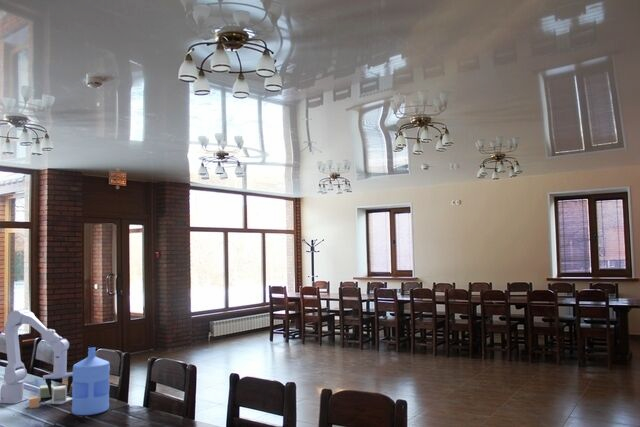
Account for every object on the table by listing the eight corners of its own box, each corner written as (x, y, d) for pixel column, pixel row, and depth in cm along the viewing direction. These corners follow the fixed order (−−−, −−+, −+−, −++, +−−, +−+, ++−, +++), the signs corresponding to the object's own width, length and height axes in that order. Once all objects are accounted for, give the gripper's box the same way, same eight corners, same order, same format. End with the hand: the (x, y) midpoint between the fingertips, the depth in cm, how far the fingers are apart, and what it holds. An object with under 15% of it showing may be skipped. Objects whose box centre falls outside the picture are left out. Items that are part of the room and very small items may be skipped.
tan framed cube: (51, 399, 256) (52, 386, 256) (65, 397, 259) (65, 385, 259) (52, 402, 251) (52, 389, 251) (66, 400, 254) (66, 387, 254)
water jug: (72, 408, 242) (73, 346, 244) (108, 404, 248) (109, 344, 251) (70, 417, 228) (72, 352, 230) (109, 413, 234) (110, 349, 236)
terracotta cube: (29, 406, 247) (29, 397, 247) (38, 405, 249) (39, 396, 249) (29, 408, 244) (29, 399, 244) (38, 407, 245) (39, 398, 246)
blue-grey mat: (44, 403, 251) (44, 402, 251) (57, 398, 260) (57, 397, 260) (60, 404, 250) (61, 403, 250) (73, 399, 258) (73, 398, 258)
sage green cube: (39, 398, 261) (39, 385, 261) (52, 396, 264) (53, 384, 264) (39, 400, 256) (39, 388, 256) (53, 399, 258) (53, 386, 259)
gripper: (43, 368, 249) (42, 397, 248) (77, 364, 256) (76, 393, 255) (43, 365, 256) (42, 394, 254) (76, 362, 262) (75, 390, 261)
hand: (59, 393), depth 255 cm, fingers open, 7 cm apart
